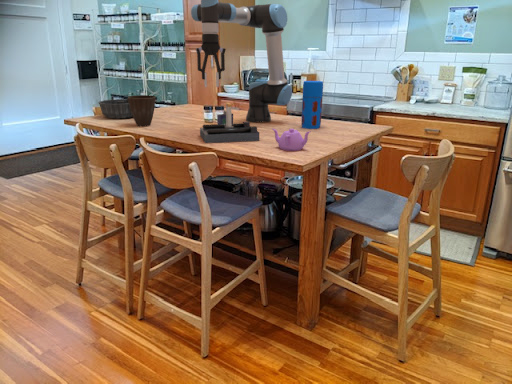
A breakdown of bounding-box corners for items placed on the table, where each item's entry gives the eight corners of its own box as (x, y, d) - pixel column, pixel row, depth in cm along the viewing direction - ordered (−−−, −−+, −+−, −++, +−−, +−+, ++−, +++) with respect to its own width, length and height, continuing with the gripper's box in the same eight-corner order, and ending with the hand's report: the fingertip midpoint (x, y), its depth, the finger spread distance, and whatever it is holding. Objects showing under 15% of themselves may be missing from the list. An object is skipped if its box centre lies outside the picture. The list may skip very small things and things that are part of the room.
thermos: (322, 126, 236) (325, 81, 227) (317, 129, 226) (320, 82, 218) (304, 124, 240) (306, 80, 232) (298, 127, 231) (300, 81, 222)
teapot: (310, 150, 181) (311, 130, 178) (280, 152, 176) (281, 132, 174) (298, 144, 191) (299, 125, 188) (271, 146, 187) (271, 127, 184)
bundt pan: (90, 118, 254) (88, 102, 251) (119, 112, 277) (117, 97, 274) (125, 121, 245) (123, 104, 241) (152, 115, 268) (150, 99, 264)
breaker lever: (229, 128, 204) (229, 102, 200) (231, 130, 200) (231, 104, 195) (226, 128, 204) (225, 102, 200) (228, 130, 199) (227, 104, 195)
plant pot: (151, 122, 243) (149, 94, 238) (161, 126, 232) (159, 97, 226) (126, 124, 235) (123, 96, 230) (135, 128, 223) (133, 98, 218)
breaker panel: (250, 133, 215) (250, 121, 212) (259, 140, 198) (259, 127, 196) (200, 135, 208) (199, 123, 206) (205, 143, 192) (205, 129, 190)
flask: (218, 131, 219) (218, 111, 215) (216, 130, 221) (215, 110, 217) (234, 130, 223) (233, 110, 219) (231, 129, 225) (231, 109, 222)
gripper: (228, 34, 191) (228, 85, 199) (189, 33, 186) (191, 86, 194) (231, 33, 184) (232, 87, 192) (191, 32, 180) (193, 87, 187)
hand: (211, 86), depth 193 cm, fingers open, 5 cm apart
